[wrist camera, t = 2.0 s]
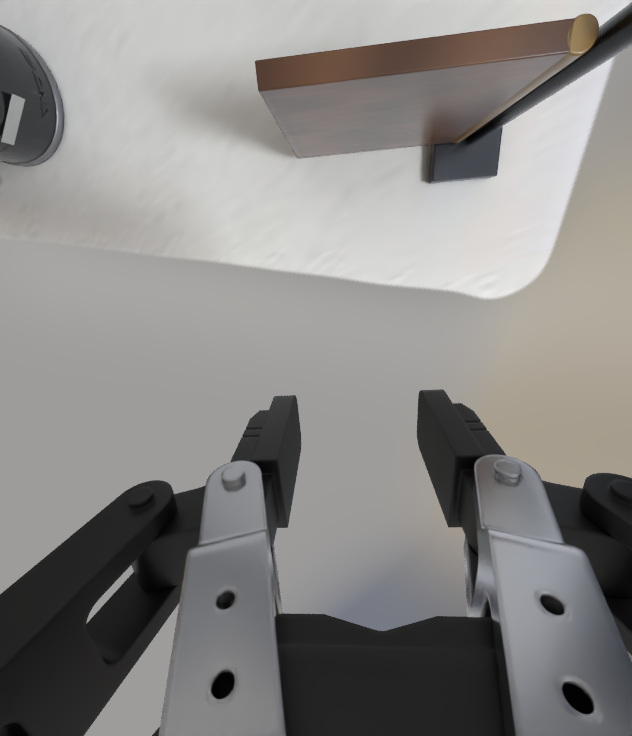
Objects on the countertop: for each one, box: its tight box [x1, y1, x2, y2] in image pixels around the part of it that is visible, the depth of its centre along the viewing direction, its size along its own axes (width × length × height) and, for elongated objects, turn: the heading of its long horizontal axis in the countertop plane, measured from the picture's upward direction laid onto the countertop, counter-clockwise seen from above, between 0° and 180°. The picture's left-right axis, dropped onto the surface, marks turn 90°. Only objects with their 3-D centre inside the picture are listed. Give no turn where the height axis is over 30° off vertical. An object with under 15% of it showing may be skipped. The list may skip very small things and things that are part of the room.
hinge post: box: [429, 3, 632, 183], centre depth 19 cm, size 5×6×17 cm
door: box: [255, 14, 599, 158], centre depth 19 cm, size 13×1×14 cm, turn 94°
